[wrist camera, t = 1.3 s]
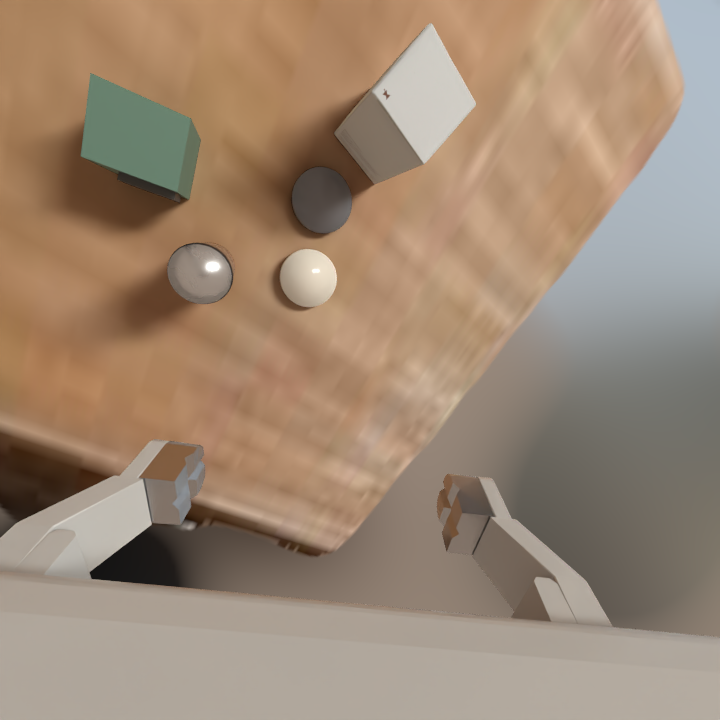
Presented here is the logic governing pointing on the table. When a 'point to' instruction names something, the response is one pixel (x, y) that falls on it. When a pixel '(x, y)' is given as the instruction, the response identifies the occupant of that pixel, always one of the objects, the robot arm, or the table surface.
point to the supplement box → (407, 110)
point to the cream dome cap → (308, 277)
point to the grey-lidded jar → (201, 272)
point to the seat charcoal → (321, 200)
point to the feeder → (139, 140)
